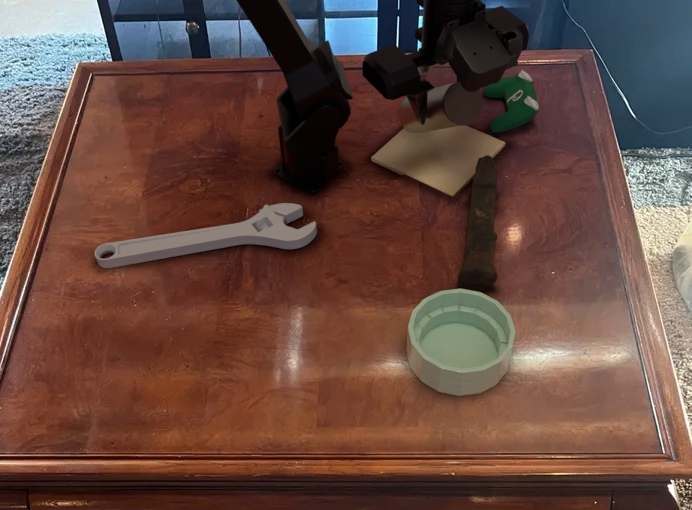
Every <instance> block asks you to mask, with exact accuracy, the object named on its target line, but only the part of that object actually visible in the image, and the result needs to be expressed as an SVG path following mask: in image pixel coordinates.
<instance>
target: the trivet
mask: <svg viewBox="0 0 692 510" xmlns="http://www.w3.org/2000/svg"><path fill="white" fill-rule="evenodd" d="M505 146H506V141H503V140H500V139H499V138H496V137H495V136H492V135H489V134H487V133H485V132H482V131H480V130H478V129H475V128H473V127H471V126H469V125H465V126H457V127H451V128H446V129H440V130H435V131H429V132H424V133H418V134H414V133H410V132H408V131H407V130H405V129H404V128H403V127H402V129H401V130H400V131H399V132H397V133H396V134H395V135H394V136H393V137H392V138H391V139H390V140H388V141H387V142H386V143H385V144H384V145H383V146H382V147H381V148H380V149H378V151H376V152H375V154H373V155H372V156H371V158H370V161H371V162H373V163H375V164H377V165H379V166H382V167H384V168H385V169H388V170H389V171H391V172H394V173H396V174H397V175H400V176H404V175H406V176H407V177H410V178H411V179H414V180H416V181H418V182H420V183H422V184H424V185H427V186H429V187H430V188H433V189H435V190H438V191H440V192H441V193H444V194H446V195H448V196H450V197H452V198H453V197H454V196H455V195H456V194H457V193H459V194H460V192H462V190H463V189H464V188H465V187H466V186H467V185H468V184H469V183H470V182H472V181H473V179H474V176H475V168H476V166H477V162H478V159H479V158H482V157H484V156H486V155H489V156H491V157H492V158H493V159H494V158H495V157H496V155H498V154H499V153H500V152H501V151H502V150H503V149H504V147H505Z"/></svg>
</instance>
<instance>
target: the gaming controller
mask: <svg viewBox="0 0 692 510" xmlns="http://www.w3.org/2000/svg"><path fill="white" fill-rule="evenodd" d="M483 94H484V96H485V97H487V98H490V99H501V98H502V99H503V98H504V100H505V104H506V110H507V111H506V112H503V113H502V114H500V115H498V116H497V117H496V118H494V120H492V121H491V123H490V124H489V128H490V130H491V132H492V133H493V134H498V133H503V132H507V131H510V130H514V129H516V128H518V127H520V126H523V125H525V124H527V123H528V122H531V121H533V119H534V117H535V116H536V115H537V114H538V113H539V110H540V109H539V103H538V98H537V92H536V89H535V86H534V83H533V78H532V77H531V75H529V73H527V72H526V71H525V70H523V69H521V71H520V72H519V73H517V74H515V75H513V76H509V77H508V76H506V77H502V78H501V80H500V81H499V82H498V83H495V84H490V85H488V86H485V87H483Z"/></svg>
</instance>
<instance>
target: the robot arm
mask: <svg viewBox="0 0 692 510" xmlns="http://www.w3.org/2000/svg"><path fill="white" fill-rule="evenodd" d="M235 1H236V2H237V4H238V5H239V7H240V8H241V10H242V11H243V13H244V14H245V16H246V18H247V19H248V21H249V22H250V24H251V25H252V27H253V28H254V30H255V32H256V33H257V34H258V36H259V37H260V39H261V41H262V42H263V44H264V45H265V47H266V48H267V50H268V52H269V53H270V54H271V57H272V58H273V59H274V61H275V62H276V64H277V65H278V67H279V68H280V70H281V72H282V74H283V77H284V80H285V82H286V86H287V87H286V88H285V89H283V91H282V92H280V94H279V95H278V96H277V97H276V105H277V110H278V116H279V121H280V125H279V126H278V127H277V131H278V132H277V133H278V141H279V150H280V158H281V164H280V165H278V166H277V167H276V168H275V169H274V170H273V175H274V177H277V178H278V179H281V180H283V181H284V182H287V183H288V184H290V185H292V186H294V187H296V188H298V189H299V190H302V191H304V192H305V193H308V194H310V195H315V194H317V193H318V192H319V191H320V190H321V189H323V188H324V187H325V186H326V185H327V184H328V183H330V182H331V181H332V180H333V179H334V178H335V177H336V176H338V175H339V174H340V173H341V172H342V171H343V170H344V169H345V167H346V165H345V162H344V161H342V160H340V159H339V146H338V145H336V139H337V136H338V133H339V130H340V129H341V128H343V127H344V125H345V124H347V122H348V120H349V118H350V116H351V114H352V109H351V104H350V102H349V101H350V100H353V95H352V91H351V88H350V84H349V81H348V77H347V74H346V71H345V67H344V64H343V62H341V61H340V60H339V59H338V58H337V57H336V56H335V55H334V52H333V49H332V46H331V43H330V40H328V39H327V40H326V41H324V42H323V43H322V44H320V45H319V46H318V45H316V44H315V43H313V41H311V40H310V39H309V38H308V37H307V35H306V34H305V33H304V30H303V29H302V27H301V26H300V24H299V22H298V20H297V18H296V17H295V15H294V13H293V12H292V10H291V8H290V7H289V5H288V3H287V2H286V0H235ZM415 2H416V4H417V5H419V6H420V8H422V21H421V26H420V27H418V28H415V29H414V39H416V40H417V41H418V42H419V43H421V44H420V47H419V48H418V50H416V51H414V52H411V53H408V54H406V53H405V52H404V51H403V50H402V49H401V48H400V47H399V46H397V44H395V43H394V44H391V45H388V46H386V47H383V48H380V49H378V50H375V51H372V52H368V53H367V54H366V55H364V57H363V60H362V66H361V67H362V68H361V69H362V71H361V73H362V77H363V78H364V79H365V80H366V81H367V82H368V83H369V84H370V85H371V86H372V87H373V88H374V89H375V90H376V91H377V92H378V93H379V94H380V95H381V96H382V97H383V98H384V99H385V100H387V101H388V100H389V101H395V100H397V99H400V98H404V97H407V98H408V101H409V103H410V105H411V107H412V110H413V112H414V114H415V117H416V119H417V121H418V122H419V123H420V124H421V125H423V124H425V120H426V115H427V97H428V92H429V91H430V90H432V89H434V88H435V86H434V85H433V84H432V83H431V82H430V81H429V80H428V74H429V70H430V69H432V68H435V67H438V66H444V65H447V64H448V65H449V67H450V69H451V70H452V72H453V73H454V75H455V76H456V82H457V81H460V83H461V86H462V87H463V88H464V89H465V90H466V91H468V92H475V91H478V90H479V91H480V89H482V88H483V89H484V88H485V86H488V85H490V84H495V83H498V82H499V81H500V80H501V78H503V76H504V74H505V72H506V71H507V70H508V69H512V68H514V67H516V66H518V64H519V59H520V56H521V55H522V52H524V51H526V50H527V49H528V45H529V40H530V34H531V32H530V29H529V26H528V25H527V23H525V22H524V21H523V20H522V19H520V18H519V17H518V16H517V15H515V14H514V13H513V12H511V11H510V10H509V9H507V8H506V7H505V6H504V5H499V6H496V7H493V8H491V9H488V10H486V6H487V4H486V3H484V2H483V1H482V0H416V1H415Z"/></svg>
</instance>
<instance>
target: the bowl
mask: <svg viewBox="0 0 692 510" xmlns="http://www.w3.org/2000/svg"><path fill="white" fill-rule="evenodd" d="M407 324H408V325H407V331H406V332H407V333H406V350H405V353H406V356H407V361H408V365H409V368H410V369H411V371H412V372H413V374H414V375H415V376H416V377H417V378H418V379H419V381H420V382H421V383H422V384H425V385H426V386H428V387H430V388H431V389H433V390H435V391H436V392H438V393H441V394H445V395H446V394H447V395H452V396H456V397H462V396H463V397H464V396H470V395H471V396H472V395H478V394H482V393H484V392H485V391H487V390H490V389H491V388H493V387H496V386H497V385H498V384H499V382H500V381H501V380H502V378H503V377H504V376H505V375H506V373H507V372H508V370H509V366H510V360H511V358H512V353H513V349H514V343H515V337H516V332H517V331H516V327H515V324H514V321H513V318H512V315H511V314H510V313H509V311H507V309H506V308H505V307H504V306H503V305H502V304H501V302H499V301H498V300H497V299H495V298H493V297H491V296H488V295H487V294H485V293H483V292H482V291H477V290H470V289H463V288H454V289H453V288H452V289H445V290H439V291H437V292H435V293H432V294H431V295H429V296H427V297H425V298H423V299H422V300H421V301H420V302H419V303H418V304H417V306H416V307H415V308H414V309H413V310H412V311H411V313H410V317H409V321H408V323H407Z"/></svg>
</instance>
